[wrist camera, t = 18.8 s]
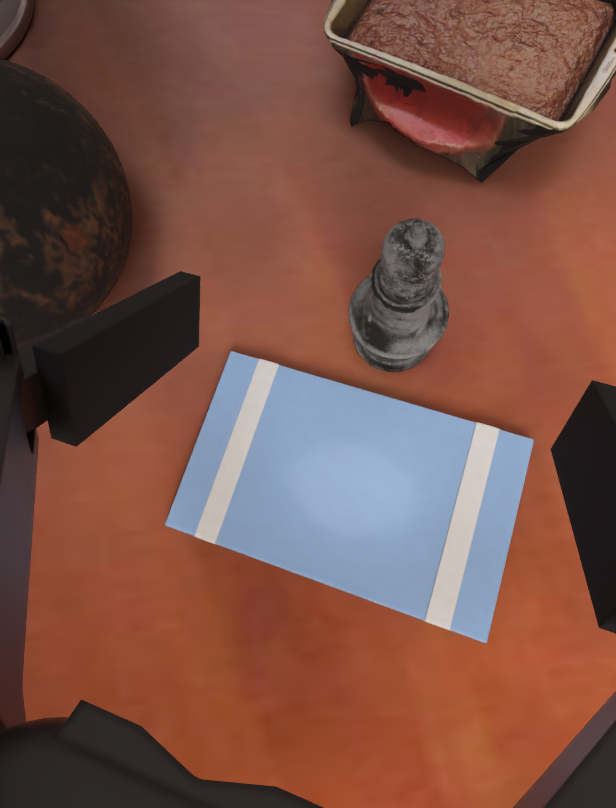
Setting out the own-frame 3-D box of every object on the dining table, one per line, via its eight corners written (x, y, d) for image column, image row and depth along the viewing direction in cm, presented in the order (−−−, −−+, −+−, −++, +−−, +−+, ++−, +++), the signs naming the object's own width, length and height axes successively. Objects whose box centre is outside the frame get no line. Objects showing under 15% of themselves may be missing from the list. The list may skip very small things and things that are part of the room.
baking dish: (489, 240, 33) (581, 132, 23) (293, 108, 34) (301, -49, 24) (578, 112, 36) (692, -31, 26) (395, -7, 37) (439, -187, 27)
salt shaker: (439, 296, 30) (494, 163, 19) (435, 379, 29) (492, 293, 17) (352, 291, 31) (353, 160, 19) (344, 372, 30) (341, 285, 18)
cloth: (483, 640, 25) (487, 644, 25) (167, 524, 28) (163, 525, 28) (530, 440, 28) (535, 439, 27) (232, 353, 31) (230, 350, 30)
